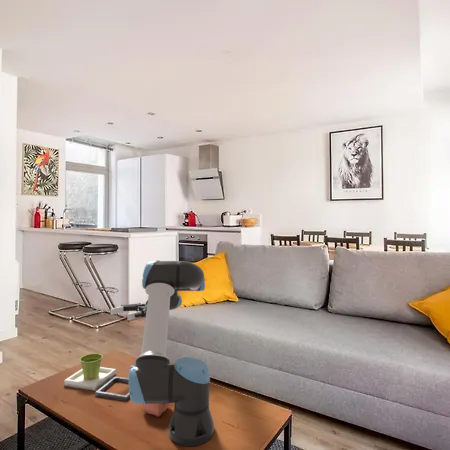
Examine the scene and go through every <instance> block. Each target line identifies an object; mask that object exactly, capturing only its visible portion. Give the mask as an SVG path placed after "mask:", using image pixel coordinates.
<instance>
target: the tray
mask: <svg viewBox="0 0 450 450" xmlns="http://www.w3.org/2000/svg"><path fill="white" fill-rule="evenodd" d="M116 372H117V370H116V368H111V367H110V368H109V367H103V366H100V369H99V376H98V377H97V378H95V379H91V380H86V379H84V375H83V369H82V368H81V369H80V370H77V371H76V372H75V373H72V375H70V376H68V377H67V378H65V379H64V386H65V387H68V388H69V387H70V388H75V389H81V390H82V389H83V390H90V391H94V392H96V391H97V390H99V389H100V388H101V387H102V386H104V385H105V384H106V383H107V382H109V381H110V380H111V379H112V378H114V377H115V376H116V375H117V373H116Z"/></svg>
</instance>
